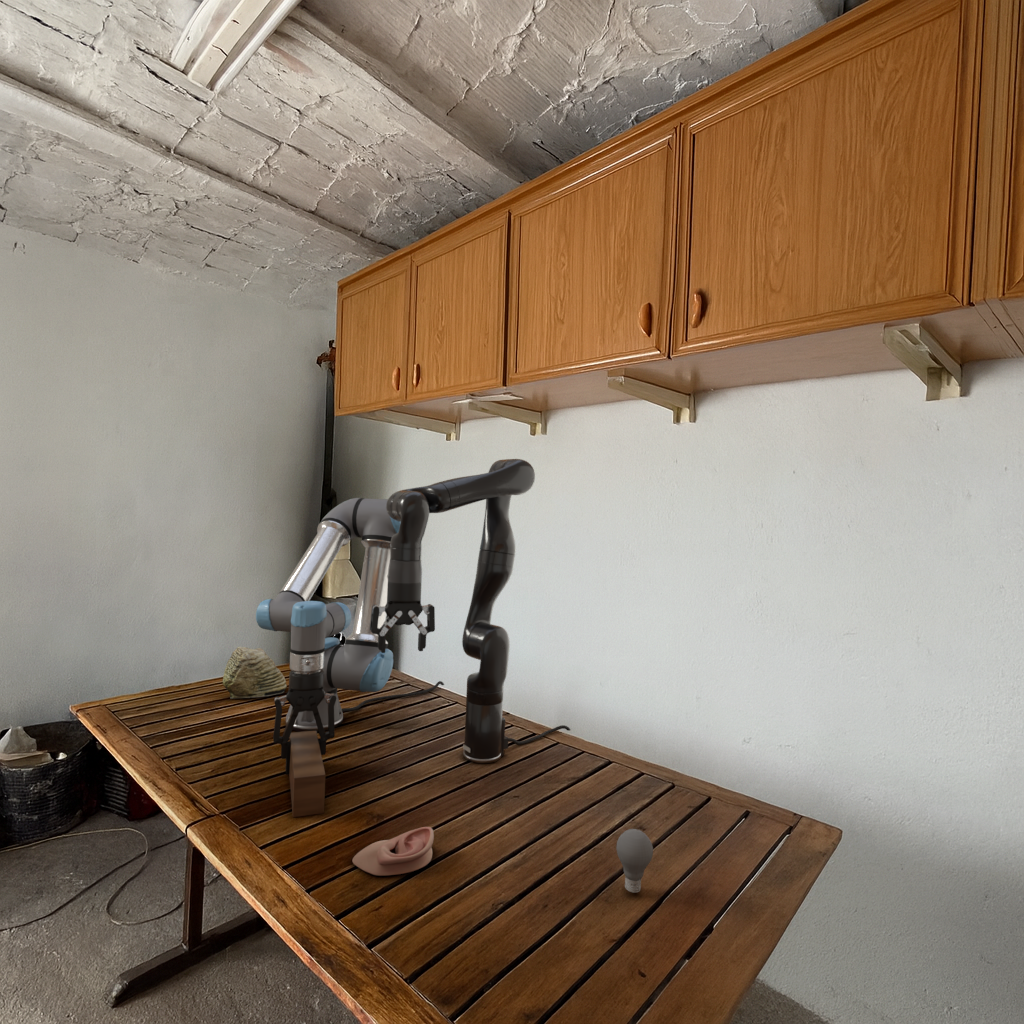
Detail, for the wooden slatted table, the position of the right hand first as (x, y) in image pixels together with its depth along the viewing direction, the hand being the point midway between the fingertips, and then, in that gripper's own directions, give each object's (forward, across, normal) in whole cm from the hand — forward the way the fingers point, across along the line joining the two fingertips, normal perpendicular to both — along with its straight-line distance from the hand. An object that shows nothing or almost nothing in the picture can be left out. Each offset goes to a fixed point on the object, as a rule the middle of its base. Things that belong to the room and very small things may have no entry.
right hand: (401, 651), depth 143 cm
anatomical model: (+29, -6, -31) cm, 43 cm away
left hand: (+29, -20, +10) cm, 36 cm away
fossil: (+29, -31, +71) cm, 83 cm away
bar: (+29, -20, +2) cm, 35 cm away
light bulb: (+29, +30, -52) cm, 66 cm away
